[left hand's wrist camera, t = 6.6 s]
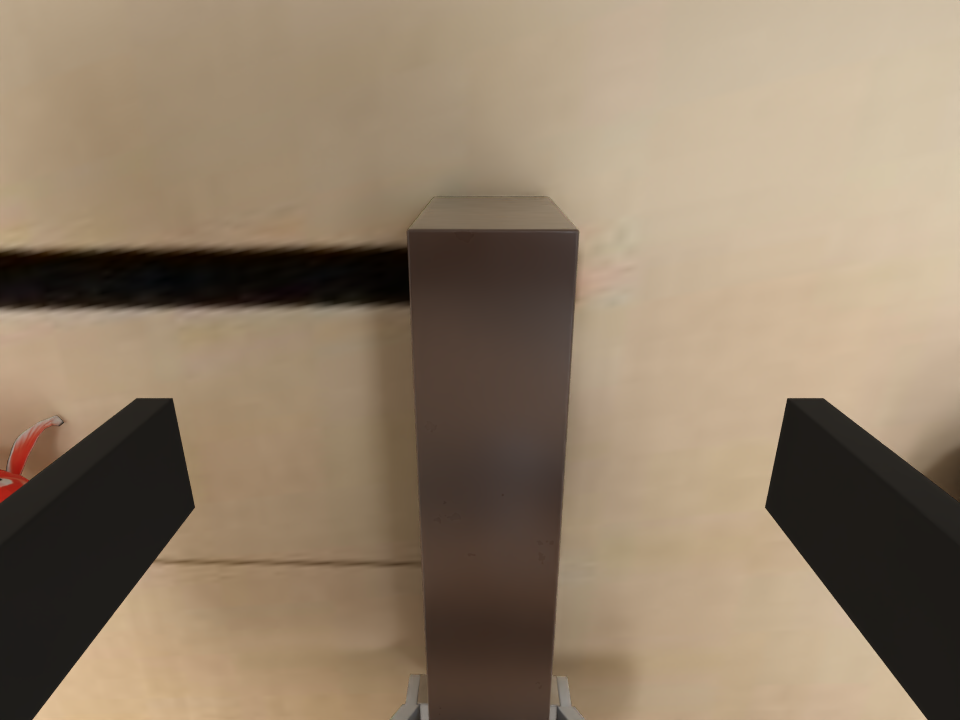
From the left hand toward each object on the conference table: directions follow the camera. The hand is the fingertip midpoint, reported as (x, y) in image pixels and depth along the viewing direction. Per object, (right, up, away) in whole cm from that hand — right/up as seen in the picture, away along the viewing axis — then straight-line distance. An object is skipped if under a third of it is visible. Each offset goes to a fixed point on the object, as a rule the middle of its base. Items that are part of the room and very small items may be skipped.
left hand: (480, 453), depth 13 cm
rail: (0, -4, +15) cm, 15 cm away
